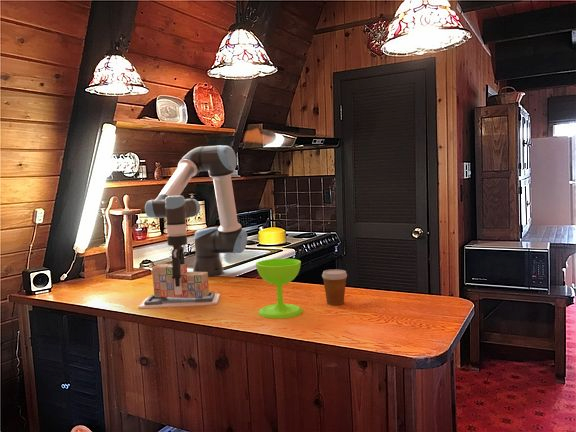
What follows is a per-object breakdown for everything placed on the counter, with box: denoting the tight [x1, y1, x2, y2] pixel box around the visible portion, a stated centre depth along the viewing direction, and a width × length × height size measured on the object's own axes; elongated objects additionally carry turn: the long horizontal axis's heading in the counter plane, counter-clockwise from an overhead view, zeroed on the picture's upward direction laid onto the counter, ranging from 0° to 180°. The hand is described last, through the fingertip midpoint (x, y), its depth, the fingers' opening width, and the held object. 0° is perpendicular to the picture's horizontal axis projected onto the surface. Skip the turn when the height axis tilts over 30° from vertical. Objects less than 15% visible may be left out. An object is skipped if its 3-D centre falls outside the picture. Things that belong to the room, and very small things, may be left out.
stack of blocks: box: [151, 263, 210, 298], centre depth 198 cm, size 21×6×12 cm, turn 73°
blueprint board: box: [137, 291, 221, 309], centre depth 198 cm, size 14×30×2 cm, turn 93°
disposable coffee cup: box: [321, 268, 348, 306], centre depth 187 cm, size 10×10×12 cm
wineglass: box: [255, 258, 304, 320], centre depth 178 cm, size 16×16×18 cm
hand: (180, 291), depth 198 cm, fingers closed on stack of blocks, 8 cm apart
